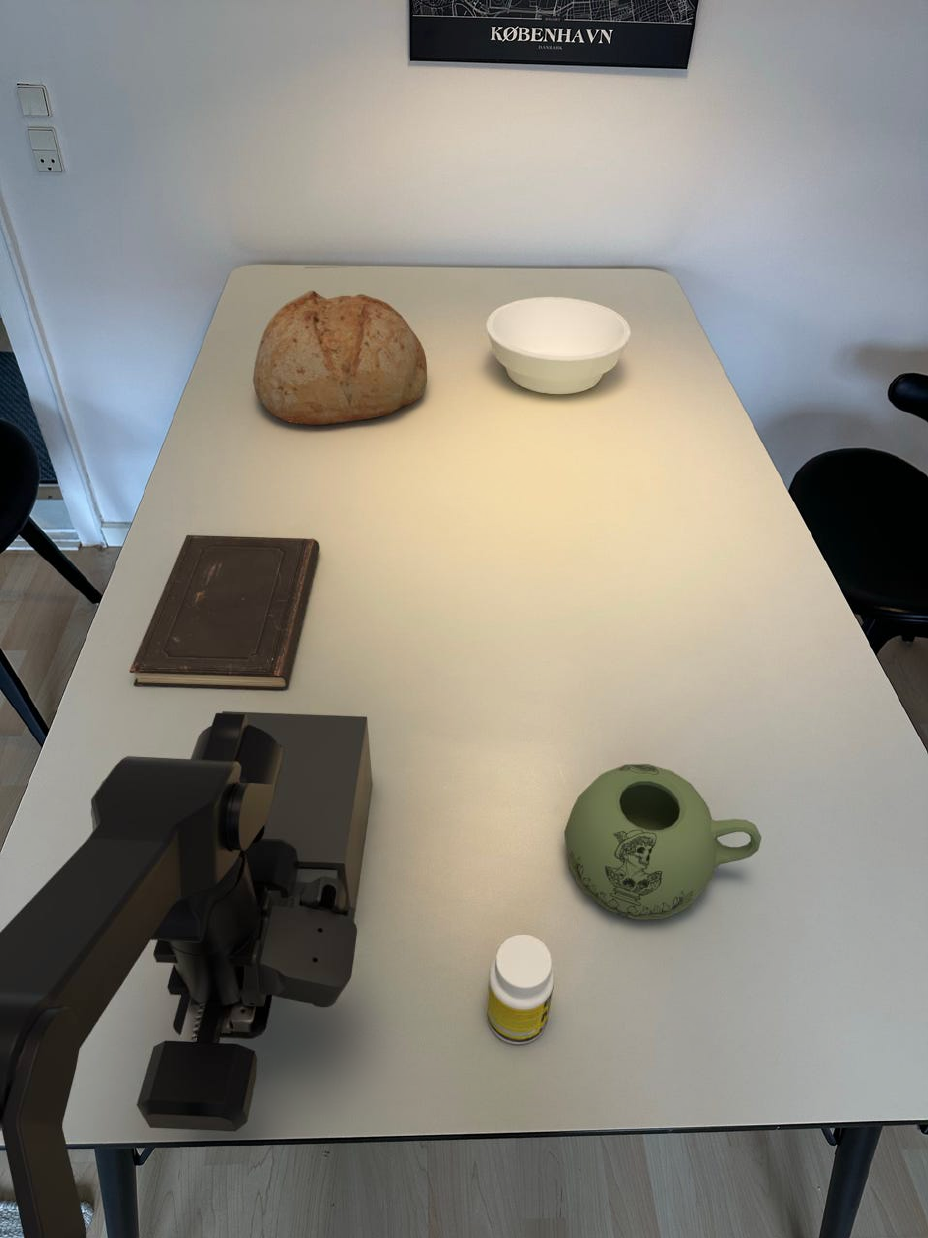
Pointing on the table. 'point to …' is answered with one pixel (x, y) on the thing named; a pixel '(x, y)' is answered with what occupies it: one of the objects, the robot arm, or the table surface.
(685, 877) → the mug
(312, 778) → the cabinet
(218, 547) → the hardcover book
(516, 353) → the bowl
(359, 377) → the bread
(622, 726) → the table surface
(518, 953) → the supplement bottle
